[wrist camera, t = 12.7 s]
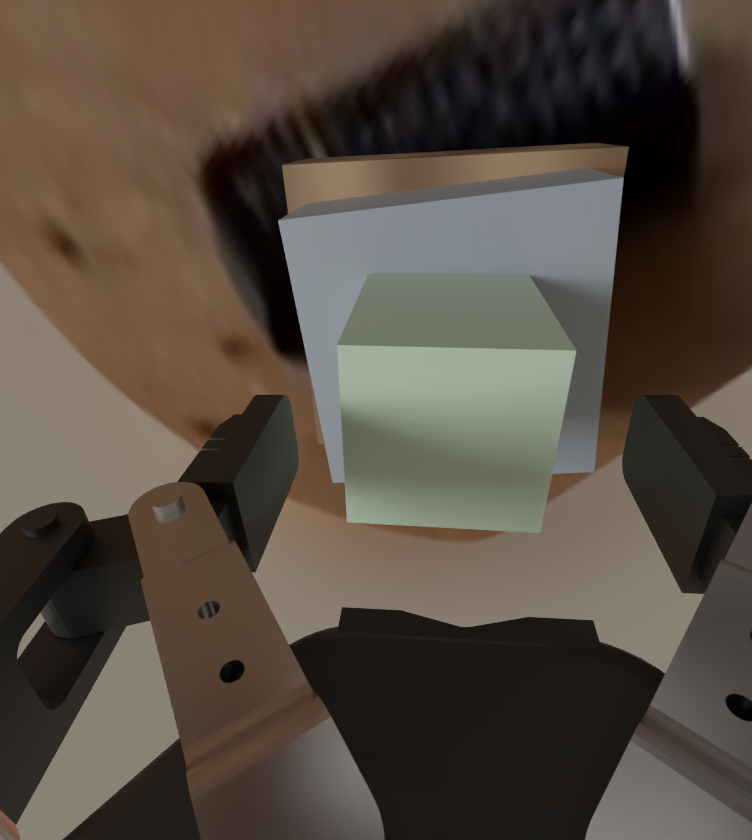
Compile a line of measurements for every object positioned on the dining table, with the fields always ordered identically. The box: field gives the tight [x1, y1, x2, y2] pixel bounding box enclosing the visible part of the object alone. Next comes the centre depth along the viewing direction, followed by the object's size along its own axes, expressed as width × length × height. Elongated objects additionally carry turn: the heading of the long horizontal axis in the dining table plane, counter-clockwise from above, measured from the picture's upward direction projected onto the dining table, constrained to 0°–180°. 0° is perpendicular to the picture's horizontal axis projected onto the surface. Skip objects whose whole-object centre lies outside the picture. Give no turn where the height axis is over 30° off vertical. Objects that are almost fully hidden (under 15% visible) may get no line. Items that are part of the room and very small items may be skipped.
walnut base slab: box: [282, 143, 629, 444], centre depth 23 cm, size 12×12×4 cm
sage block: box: [337, 274, 576, 533], centre depth 15 cm, size 5×5×6 cm
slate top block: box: [278, 168, 624, 483], centre depth 19 cm, size 10×10×4 cm
